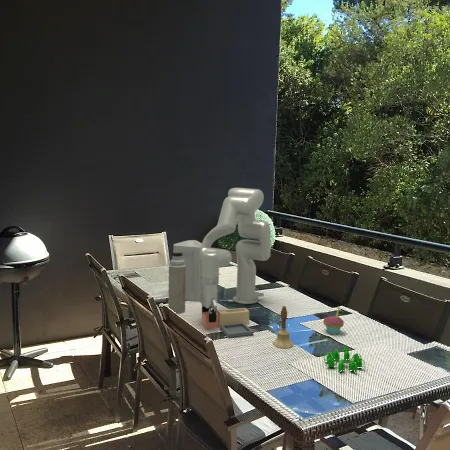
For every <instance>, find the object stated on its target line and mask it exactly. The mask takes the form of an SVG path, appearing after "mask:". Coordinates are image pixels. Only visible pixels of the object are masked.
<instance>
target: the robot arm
mask: <svg viewBox="0 0 450 450" xmlns="http://www.w3.org/2000/svg"><path fill="white" fill-rule="evenodd" d="M264 199H265V196H264V192H263V191H262V190H261V189H258V188H257V189H256V188H247V187H246V188H245V187H232V188H230V189H229V190H228V192H227V196H226V198H225V199H224V200H223V201H222V206H221V210H220V214H219V217H218V221H217V224H216V226H215V227H213V228H212V229H211V230H210V231H209V232H208V233H207V234H206V235H205V236H204V238H203V240H202V242H201V243H202V246H201V249H200V254H199V258H200V261H201V262H202V274H201V284H202V285H201V296H200V302H199V303H200V304H201V313H202V312H209V311H210V313H209V323H211V322H216V313H217V310H218V285H219V281H220V279H219V278H220V267H222V268H223V267H227V266H229V265H230V263H231V262H232V259H233V256H232V253H231V252H230V251H229V250H228V249H223V248H216V247H212V245H213V243H214V242H215V241H216V240H218V239H220V238H222V237H224V236H227V235H230V234H233V233H234V232H235V231H236V229H237V228H238V229H237V232H238V235H239V236H240V237H241V238H244V239H241V240H239V241H237V243H236V245H235V254H236V261H237V264H236V267H237V268H236V269H237V270H236V272H237V273H236V294H235V296H233V298H232V300H233V302H234V303H238V304H240V305H241V304H242V305H251V304H255V303H256V304H257V302H259V301H258V300H259V298H258V297H264V296H265V293H264V292H260V291H256V282H257V281H256V279H257V267H256V264H255V262H254V260H255V261H262V262H264V261H267V260H269V258H270V256H271V248H272V247H271V246H272V245H271V226H270V224H269V223H268V221H265V220H261V219H260V220H259V219H256V211H257V210H259V208H260V207H261V206H262V204H263V203H264Z"/></svg>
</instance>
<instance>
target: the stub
mask: <svg viewBox="0 0 450 450" xmlns="http://www.w3.org/2000/svg"><path fill="white" fill-rule="evenodd" d="M209 313H210V311H209V312H202V311H201V326H202V327H203V328H204V329H205V330H208V329H217V328H218V327H219V314H218V313H216V322H211V323H209ZM219 328H220V327H219Z"/></svg>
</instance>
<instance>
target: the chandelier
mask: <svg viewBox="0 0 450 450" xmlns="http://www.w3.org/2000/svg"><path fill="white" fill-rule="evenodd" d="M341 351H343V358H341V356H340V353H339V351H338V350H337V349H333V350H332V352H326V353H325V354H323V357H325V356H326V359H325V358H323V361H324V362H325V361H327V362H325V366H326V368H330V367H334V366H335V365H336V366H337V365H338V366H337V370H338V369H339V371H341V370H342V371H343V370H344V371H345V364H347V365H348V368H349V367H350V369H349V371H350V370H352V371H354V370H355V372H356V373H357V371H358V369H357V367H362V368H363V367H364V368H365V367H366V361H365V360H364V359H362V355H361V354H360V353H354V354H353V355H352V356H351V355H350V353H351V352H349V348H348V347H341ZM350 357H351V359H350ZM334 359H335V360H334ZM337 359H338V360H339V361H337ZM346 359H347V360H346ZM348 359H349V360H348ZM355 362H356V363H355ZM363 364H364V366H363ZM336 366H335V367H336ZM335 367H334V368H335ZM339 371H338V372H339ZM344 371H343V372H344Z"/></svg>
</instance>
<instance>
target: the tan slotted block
mask: <svg viewBox="0 0 450 450" xmlns="http://www.w3.org/2000/svg"><path fill="white" fill-rule="evenodd" d="M217 313H218V314H219V328H220V325H226V324H235V323H245V324H246V325H249V324H250V311H249V310H248V309H247V308H246V307H239V308H238V307H237V308H229V309H217Z"/></svg>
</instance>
